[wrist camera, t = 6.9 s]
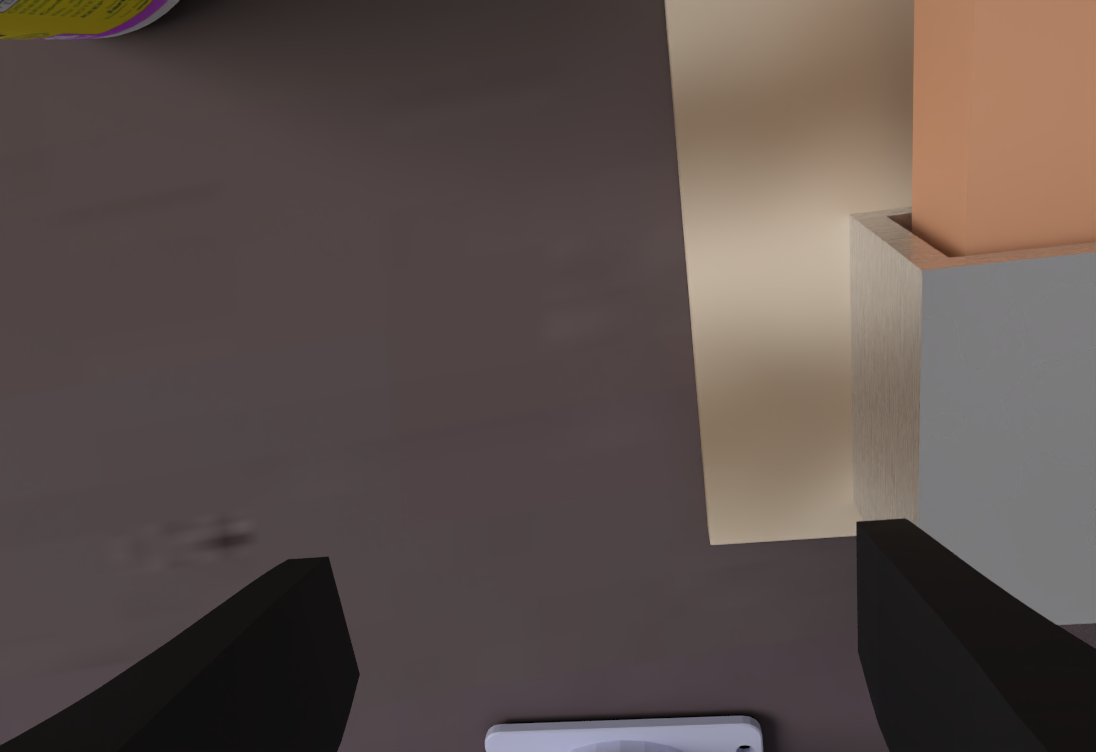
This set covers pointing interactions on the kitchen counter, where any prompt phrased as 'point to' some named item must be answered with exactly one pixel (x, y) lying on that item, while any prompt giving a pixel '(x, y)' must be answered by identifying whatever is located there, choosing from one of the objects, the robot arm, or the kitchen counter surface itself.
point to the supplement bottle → (77, 18)
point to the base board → (783, 239)
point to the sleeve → (979, 405)
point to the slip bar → (1004, 124)
